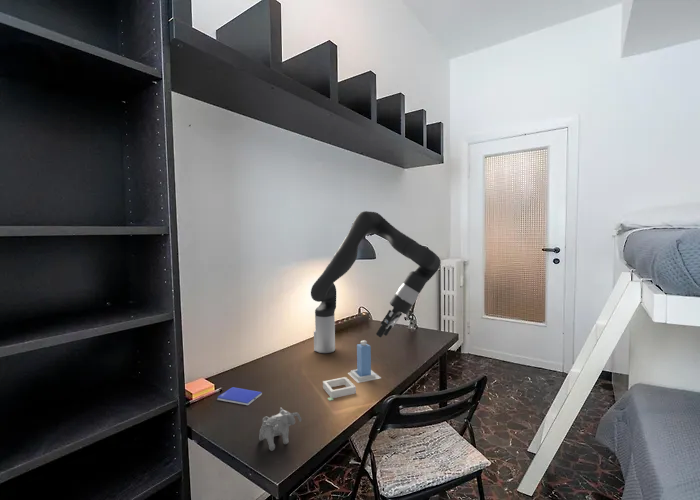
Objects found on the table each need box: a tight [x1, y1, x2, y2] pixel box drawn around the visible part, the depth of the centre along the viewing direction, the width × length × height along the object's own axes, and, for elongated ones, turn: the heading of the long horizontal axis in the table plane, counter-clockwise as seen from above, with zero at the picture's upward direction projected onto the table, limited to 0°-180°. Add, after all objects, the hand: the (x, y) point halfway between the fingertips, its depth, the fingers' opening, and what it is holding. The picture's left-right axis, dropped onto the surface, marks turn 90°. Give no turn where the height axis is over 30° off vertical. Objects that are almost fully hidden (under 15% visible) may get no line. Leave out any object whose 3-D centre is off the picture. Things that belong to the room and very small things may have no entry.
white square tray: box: [347, 368, 382, 384], centre depth 137 cm, size 10×10×2 cm
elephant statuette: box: [258, 407, 303, 452], centre depth 97 cm, size 9×12×8 cm
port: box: [322, 376, 357, 402], centre depth 124 cm, size 12×12×3 cm
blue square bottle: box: [356, 339, 372, 377], centre depth 136 cm, size 4×4×14 cm
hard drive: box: [217, 386, 263, 406], centre depth 122 cm, size 2×8×12 cm
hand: (381, 335), depth 130 cm, fingers open, 8 cm apart
